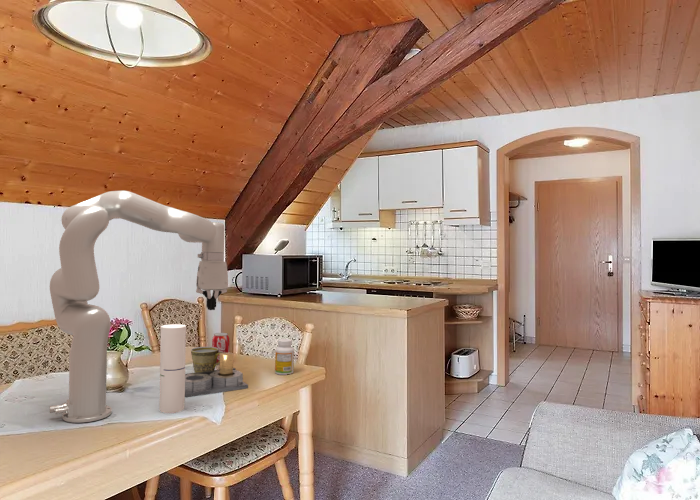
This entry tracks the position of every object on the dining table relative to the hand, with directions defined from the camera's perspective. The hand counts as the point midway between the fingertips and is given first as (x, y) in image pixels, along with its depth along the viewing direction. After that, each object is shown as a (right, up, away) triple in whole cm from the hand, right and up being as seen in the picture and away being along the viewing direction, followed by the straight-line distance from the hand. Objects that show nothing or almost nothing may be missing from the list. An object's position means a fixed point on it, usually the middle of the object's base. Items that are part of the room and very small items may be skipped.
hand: (211, 309), depth 179 cm
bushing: (+5, -26, 0) cm, 26 cm away
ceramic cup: (-4, -27, +11) cm, 29 cm away
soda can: (-5, -26, +33) cm, 42 cm away
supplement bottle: (+23, -27, +19) cm, 40 cm away
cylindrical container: (-5, -27, -26) cm, 38 cm away
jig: (+1, -27, -3) cm, 27 cm away
